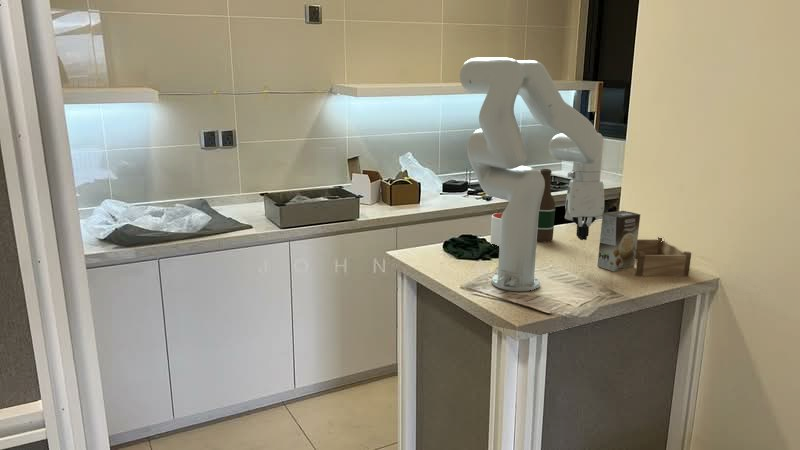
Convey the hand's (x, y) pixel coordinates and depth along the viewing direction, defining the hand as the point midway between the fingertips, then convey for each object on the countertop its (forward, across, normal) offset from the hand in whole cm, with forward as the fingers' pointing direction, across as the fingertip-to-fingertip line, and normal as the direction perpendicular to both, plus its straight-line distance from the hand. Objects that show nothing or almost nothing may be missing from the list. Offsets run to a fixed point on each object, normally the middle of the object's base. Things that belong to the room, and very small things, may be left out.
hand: (582, 238), depth 183 cm
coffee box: (+9, +10, -1) cm, 14 cm away
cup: (+9, -17, +22) cm, 29 cm away
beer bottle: (+9, -3, +30) cm, 32 cm away
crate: (+9, +20, -1) cm, 22 cm away
